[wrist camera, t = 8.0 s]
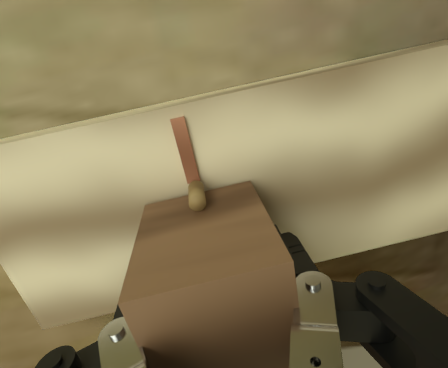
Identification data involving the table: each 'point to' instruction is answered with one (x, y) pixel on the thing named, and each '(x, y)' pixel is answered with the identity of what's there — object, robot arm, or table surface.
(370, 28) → the table surface
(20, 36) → the table surface
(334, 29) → the table surface
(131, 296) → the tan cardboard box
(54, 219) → the board
